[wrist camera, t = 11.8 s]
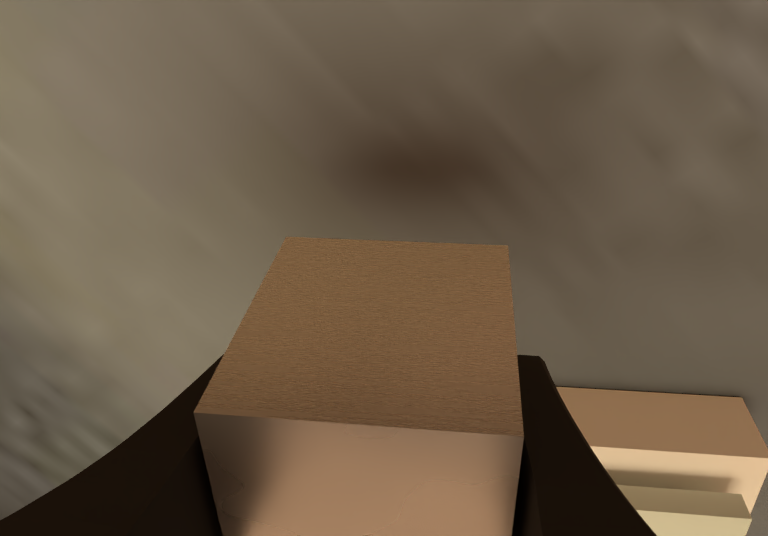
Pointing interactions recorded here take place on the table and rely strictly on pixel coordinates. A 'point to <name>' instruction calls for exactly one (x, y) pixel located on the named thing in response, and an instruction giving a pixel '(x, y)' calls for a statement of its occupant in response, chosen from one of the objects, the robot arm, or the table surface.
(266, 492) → the tan brown block
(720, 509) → the pan
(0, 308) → the table surface
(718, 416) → the scale housing
